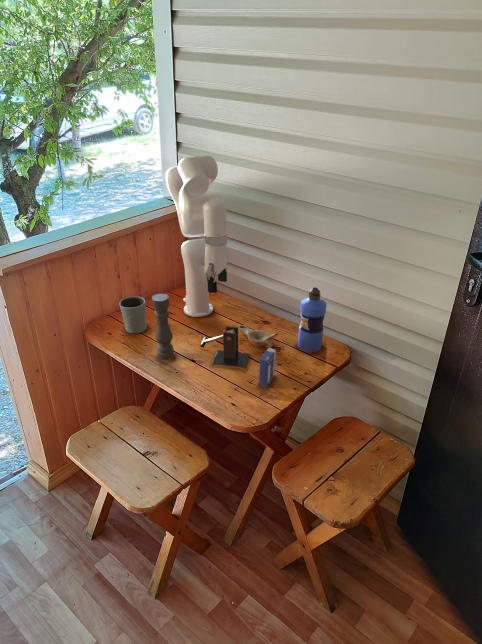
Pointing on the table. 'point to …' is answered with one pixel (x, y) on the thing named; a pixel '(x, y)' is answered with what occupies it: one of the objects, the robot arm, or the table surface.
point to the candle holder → (163, 327)
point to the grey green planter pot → (134, 314)
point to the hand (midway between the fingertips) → (217, 286)
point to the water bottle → (311, 321)
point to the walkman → (267, 367)
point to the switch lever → (213, 339)
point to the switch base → (231, 350)
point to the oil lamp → (258, 336)
